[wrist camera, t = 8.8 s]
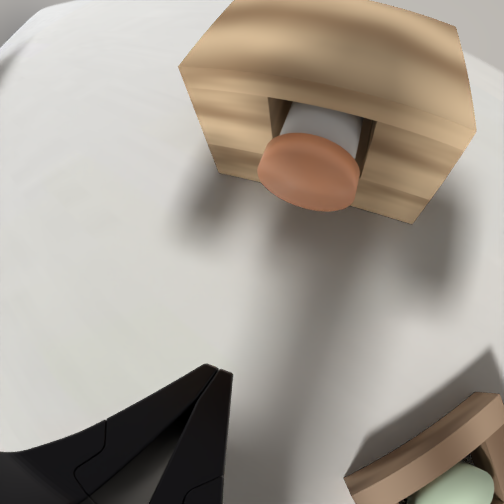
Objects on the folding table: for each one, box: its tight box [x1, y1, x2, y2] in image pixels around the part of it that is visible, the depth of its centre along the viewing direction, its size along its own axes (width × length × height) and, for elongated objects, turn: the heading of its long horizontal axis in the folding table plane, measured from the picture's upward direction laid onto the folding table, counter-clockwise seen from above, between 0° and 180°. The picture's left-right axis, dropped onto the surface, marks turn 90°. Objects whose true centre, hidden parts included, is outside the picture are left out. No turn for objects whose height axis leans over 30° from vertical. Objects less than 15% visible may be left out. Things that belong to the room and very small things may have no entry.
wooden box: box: [178, 0, 476, 224], centre depth 18 cm, size 10×14×10 cm
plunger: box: [257, 101, 364, 212], centre depth 16 cm, size 8×5×5 cm, turn 161°
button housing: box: [344, 392, 504, 504], centre depth 12 cm, size 10×10×3 cm
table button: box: [406, 460, 494, 504], centre depth 12 cm, size 5×5×3 cm
